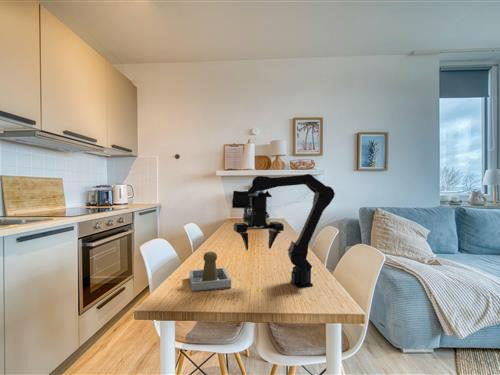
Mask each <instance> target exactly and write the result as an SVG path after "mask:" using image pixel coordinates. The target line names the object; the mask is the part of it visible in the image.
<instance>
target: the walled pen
mask: <svg viewBox="0 0 500 375" xmlns="http://www.w3.org/2000/svg"><path fill="white" fill-rule="evenodd" d="M203 270H204V268H203V269H191V270H189V282H190V289H191V293H195V292H196V293H197V292H205V291H215V290H216V291H217V290H225V289H231V288H232V278H231V277H230V276H229V274H228V271H226V268H225V267H216V270H217V279H218V280H213V281H202V277H203Z"/></svg>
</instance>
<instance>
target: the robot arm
mask: <svg viewBox="0 0 500 375" xmlns="http://www.w3.org/2000/svg"><path fill="white" fill-rule="evenodd" d="M300 185H305V187H307V188H308V189H309V190H310V191H312V193H313V194H314V195H313V199H312V200H313V201H312V207H311V209H310V211H309V214H308V216H307V218H306V220H305V222H304V226H303V227H302V229H301V232H300V234H299V236H298V239H297V240H296V241H295V242H294V241H293V240H291V243H290V244H289V245H290V246H289V247H288V248H287V251H288V253H287V255H288V258H289V260H290V262H291V264H292V265H294V266H292V270H291V273H290V274H291V277H290V278H291V279H290V282H291V283H292V284H293V285H294V286H295V287H297V288H305V287H312V286H313V287H314V284H313V283H312V272H311V271H312V268H313V266H312V264H311V263H310V261H309V259H307V257H308V252H309V244H310V242H311V240H312V237H313V236H314V232H315V230H316V228H317V226H318V224H319V221H320V220H321V217H322V215H323V213H324V212H325V210H326V208H327V207H328V206H329V205H330V204H331V202H332V201H333V199H334V198H335V195H336V194H335V191H334V188H332V187H331V186H328V185H326V184H324V183H322V182H321V181H320V180H318V179H317V178H315V176H313V175H312V174H310V173H307V174H301V175H289V176H279V177H278V176H277V177H275V176H267V175H266V176H263V175H257V176H255V177H254V178H253V180H252V182H251V186H250V188H248V189H247V191H241V190H240V191H239V190H233V191H232V192H233V193H232V200H231V202H232V204H231V205H232V206H231V208H232V209H246V210H247V209H248V207H250V206H251V211H250V214H249V213H243V214H242V217H243V221H242V222H235V223H234V224H233V231H234V232H236V233H237V234H239V235H240V236H241V239H242V240H243V244H244V248H245V250H246V251H249V233H248V231H249V230H251V231H252V230H268V249H269V250H271V248H272V246H273V244H274V242H275V241H276V239H277V237H278V235H279V234H281V232H283V231H284V229H285V226H284V224H283V223H282V222H279V221H270V222H269V223H268V222H267V216H268V211H267V208H268V207H267V205H268V204H267V202H268V201H267V198H272V197H273V196H272V194H270V192H269V191H268V190H270V189H271V190H272V189H274V188H277V187H278V188H280V187H288V186H300ZM264 191H265V192H264ZM256 192H257V195H253V194H255V193H256ZM246 223H247V224H246Z"/></svg>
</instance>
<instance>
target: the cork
mask: <svg viewBox="0 0 500 375" xmlns="http://www.w3.org/2000/svg"><path fill="white" fill-rule="evenodd" d="M202 258H203V261H204V264H203V269H204V270H203V277H202V281H213V280H218V279H217V270H216V268H217V264H216V262H217V260H218V254H217V252H215V251H207V252H204V254H203V257H202Z"/></svg>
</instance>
